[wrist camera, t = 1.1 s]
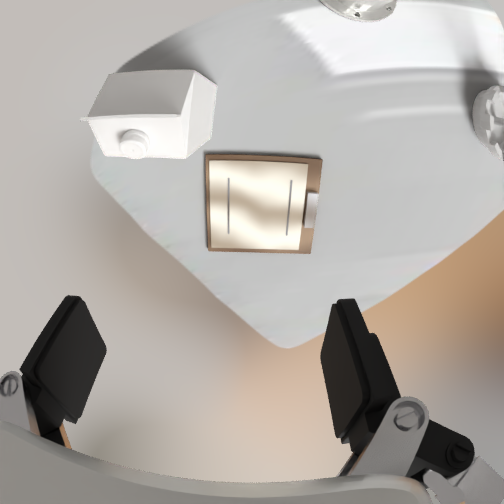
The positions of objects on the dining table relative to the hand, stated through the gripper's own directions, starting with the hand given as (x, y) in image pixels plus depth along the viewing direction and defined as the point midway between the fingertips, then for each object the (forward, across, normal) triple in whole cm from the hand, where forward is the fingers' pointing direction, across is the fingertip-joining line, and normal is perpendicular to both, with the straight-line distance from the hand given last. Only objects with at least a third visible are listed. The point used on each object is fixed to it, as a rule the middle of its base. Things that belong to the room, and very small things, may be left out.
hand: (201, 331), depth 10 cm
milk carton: (+29, +6, -7) cm, 31 cm away
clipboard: (+29, -3, +6) cm, 30 cm away
